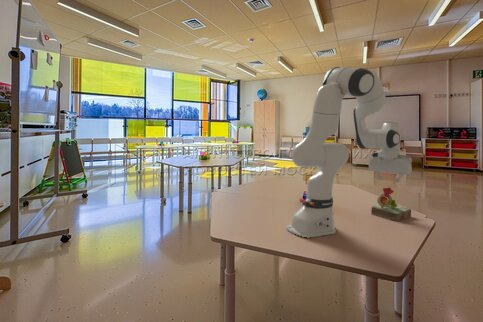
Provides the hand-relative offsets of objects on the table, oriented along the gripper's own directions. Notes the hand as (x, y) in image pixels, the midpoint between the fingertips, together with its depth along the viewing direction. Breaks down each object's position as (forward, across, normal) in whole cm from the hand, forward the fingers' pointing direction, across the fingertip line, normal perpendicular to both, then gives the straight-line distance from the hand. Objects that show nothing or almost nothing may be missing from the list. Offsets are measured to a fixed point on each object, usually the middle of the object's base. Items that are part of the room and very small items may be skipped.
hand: (388, 180), depth 131 cm
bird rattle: (+14, 0, +2) cm, 14 cm away
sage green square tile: (+18, -2, 0) cm, 18 cm away
